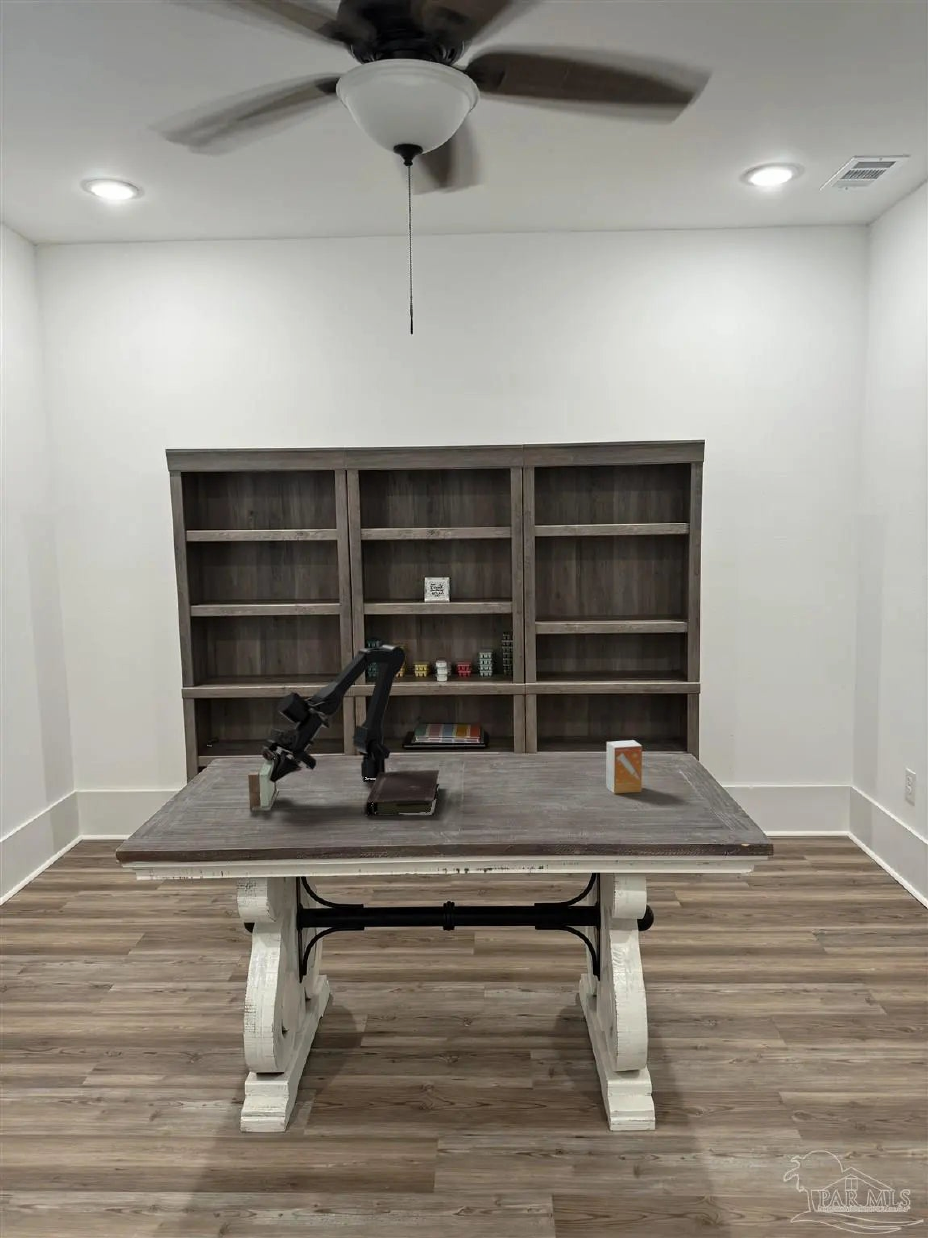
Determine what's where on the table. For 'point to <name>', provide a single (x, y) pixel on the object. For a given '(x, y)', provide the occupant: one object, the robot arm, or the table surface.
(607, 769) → the small box
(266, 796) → the pale green flat panel
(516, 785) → the table surface
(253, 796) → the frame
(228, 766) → the table surface
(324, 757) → the table surface
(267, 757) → the brown looped band
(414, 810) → the diary
